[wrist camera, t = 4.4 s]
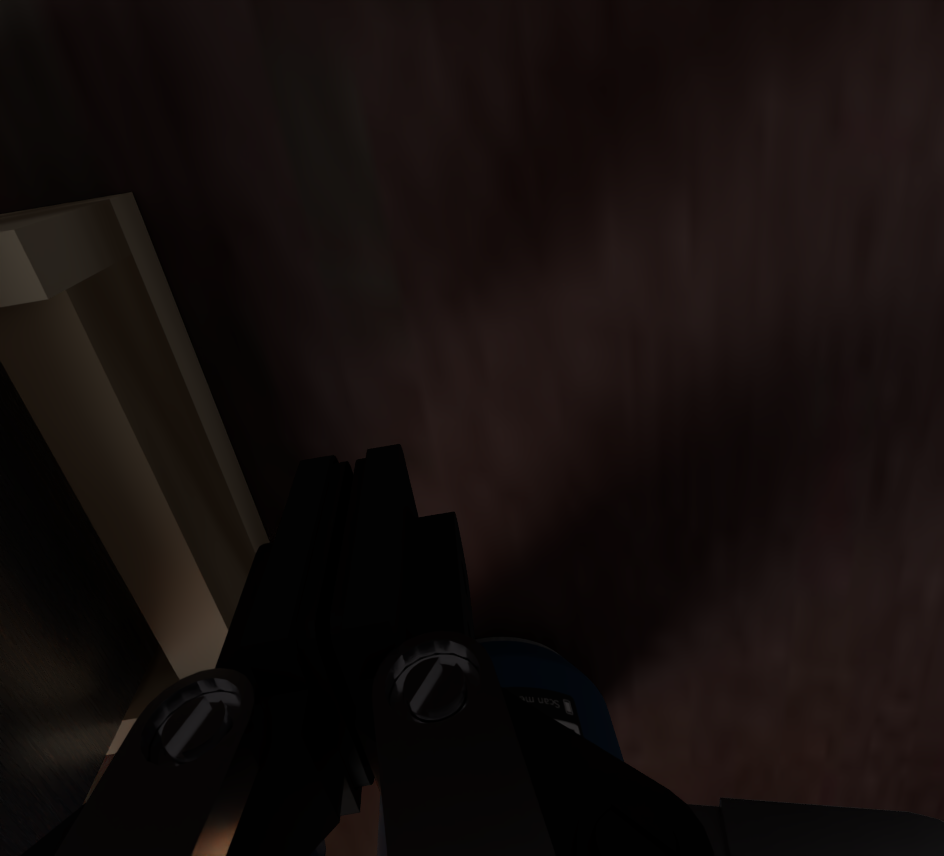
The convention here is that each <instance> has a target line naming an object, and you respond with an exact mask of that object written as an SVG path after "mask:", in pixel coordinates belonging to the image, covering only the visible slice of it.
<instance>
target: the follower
mask: <svg viewBox="0 0 944 856" xmlns="http://www.w3.org/2000/svg"><path fill="white" fill-rule="evenodd" d="M158 645H159V642H158V640H157V639H156V637H155V635H154V633H153V631H152V630H151V628H150V626H149V624H148V623H147V621H146V619H145V617H144V615H143V614H142V612H141V610H140V608H139V607H138V605H137V603H136V601H135V599H134V598H133V596H132V594H131V592H130V591H129V589H128V587H127V585H126V583H125V582H124V580H123V578H122V576H121V575H120V573H119V571H118V569H117V567H116V566H115V564H114V562H113V560H112V559H111V557H110V555H109V553H108V551H107V550H106V548H105V546H104V544H103V543H102V541H101V539H100V537H99V535H98V534H97V532H96V530H95V528H94V527H93V525H92V523H91V521H90V519H89V518H88V516H87V514H86V512H85V511H84V509H83V507H82V505H81V503H80V502H79V500H78V498H77V496H76V495H75V493H74V491H73V489H72V487H71V486H70V484H69V482H68V480H67V479H66V477H65V475H64V473H63V471H62V470H61V468H60V466H59V464H58V463H57V461H56V459H55V457H54V455H53V454H52V452H51V450H50V448H49V447H48V445H47V443H46V441H45V439H44V438H43V436H42V434H41V432H40V430H39V429H38V427H37V425H36V423H35V422H34V420H33V418H32V416H31V414H30V413H29V411H28V409H27V407H26V406H25V404H24V402H23V400H22V398H21V397H20V395H19V393H18V391H17V390H16V388H15V386H14V384H13V382H12V381H11V379H10V377H9V375H8V374H7V372H6V370H5V368H4V366H3V365H2V363H1V361H0V856H20V855H21V854H23V853H24V852H25V851H26V850H28V849H29V848H30V847H31V846H33V845H34V844H35V843H36V842H38V841H39V840H40V839H41V838H43V837H44V836H45V835H46V834H48V833H49V832H50V831H51V830H53V829H54V828H55V827H56V826H57V825H59V824H60V823H61V822H62V821H64V820H65V819H66V818H67V817H69V816H70V815H71V814H72V813H74V812H75V811H76V810H77V809H79V808H80V807H81V806H82V804H83V802H84V800H85V798H86V796H87V794H88V792H89V790H90V788H91V786H92V783H93V781H94V779H95V777H96V775H97V773H98V771H99V769H100V767H101V765H102V762H103V760H104V758H105V756H106V754H107V752H108V750H109V748H110V746H111V744H112V741H113V739H114V737H115V735H116V733H117V731H118V729H119V727H120V725H121V723H122V720H123V718H124V716H125V714H126V712H127V710H128V708H129V706H130V704H131V701H132V699H133V697H134V695H135V693H136V691H137V689H138V687H139V685H140V683H141V680H142V678H143V676H144V674H145V672H146V670H147V668H148V666H149V664H150V662H151V659H152V657H153V655H154V653H155V651H156V649H157V647H158Z"/></svg>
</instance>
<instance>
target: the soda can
mask: <svg viewBox="0 0 944 856" xmlns="http://www.w3.org/2000/svg"><path fill="white" fill-rule="evenodd" d="M475 640H476V641H477V642H478V643H479V644H481V645H482V646H483V647H484V648H485V649H486V651H487V653H488V655H489V657H490V658H491V660H492V662H493V665H494V668H495V672H496V675H497V678H498V681H499V684H500V686H501V687H502V688H504V689H506V690H507V691H509V692H510V693H512V694H514V695H515V696H517V697H519V698H520V699H522V700H524V701H525V702H527V703H528V704H530V705H532V706H533V707H535V708H537V709H538V710H540V711H541V712H543V713H545V714H546V715H548V716H550V717H551V718H553V719H555V720H556V721H558V722H559V723H561V724H563V725H564V726H566V727H568V728H569V729H571V730H572V731H574V732H576V733H577V734H579V735H581V736H582V737H584V738H586V739H587V740H589V741H590V742H592V743H594V744H595V745H597V746H599V747H600V748H602V749H603V750H605V751H607V752H608V753H610V754H612V755H613V756H615V757H617V758H618V759H620V760H621V761H623V762H624V760H623V757H622V754H621V750H620V747H619V744H618V741H617V738H616V734H615V731H614V728H613V725H612V721H611V718H610V715H609V712H608V709H607V706H606V703H605V701H604V698H603V696H602V695H601V693H600V692H599V690H598V689H597V688H596V686H595V685H594V684H593V683H592V682H591V681H590V680H589V679H588V678H587V676H585V675H584V674H583V673H582V672H581V671H580V670H578V669H577V668H576V667H575V666H574V665H572V664H571V663H570V662H568V661H567V660H566V659H565V658H563V657H562V656H561V655H559V654H558V653H557V652H555V651H554V650H552V649H550V648H549V647H547V646H545V645H542V644H540V643H537V642H534V641H531V640H527V639H522V638H515V637H488V638H481V639H475ZM377 856H387V846H386V836H385V826H384V816H383V806H382V796H381V794H380V809H379V829H378V848H377Z"/></svg>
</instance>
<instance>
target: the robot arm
mask: <svg viewBox="0 0 944 856" xmlns="http://www.w3.org/2000/svg"><path fill="white" fill-rule="evenodd" d="M374 778H375V780H376V783H377V786H378V788H379V791H380V794H381V796H382V806H383V816H384V826H385V836H386V846H387V856H944V822H943V821H941V820H939V819H936V818H932V817H928V816H924V815H920V814H916V813H911V812H904V811H890V810H877V809H864V808H851V807H838V806H825V805H812V804H799V803H786V802H773V801H760V800H746V799H733V798H720V805H719V807H717V806H705V805H692V804H686V803H685V802H684V801H682V800H681V799H680V798H679V797H677V796H676V795H675V794H674V793H672V792H671V791H670V790H669V789H667V788H665V787H664V786H662V785H661V784H659V783H657V782H656V781H654V780H652V779H651V778H649V777H648V776H646V775H644V774H643V773H641V772H639V771H638V770H636V769H634V768H633V767H631V766H630V765H628V764H626V763H625V762H623V761H621V760H620V759H618V758H617V757H615V756H613V755H612V754H610V753H608V752H607V751H605V750H603V749H602V748H600V747H599V746H597V745H595V744H594V743H592V742H590V741H589V740H587V739H586V738H584V737H582V736H581V735H579V734H577V733H576V732H574V731H572V730H571V729H569V728H568V727H566V726H564V725H563V724H561V723H559V722H558V721H556V720H555V719H553V718H551V717H550V716H548V715H546V714H545V713H543V712H541V711H540V710H538V709H537V708H535V707H533V706H532V705H530V704H528V703H527V702H525V701H524V700H522V699H520V698H519V697H517V696H515V695H514V694H512V693H510V692H509V691H507V690H506V689H504V688H502V687H501V686H500V684H499V681H498V678H497V675H496V672H495V668H494V665H493V662H492V660H491V658H490V657H489V655H488V653H487V651H486V649H485V648H484V647H483V646H482V645H481V644H479V643H478V642H477V641H476V640H475V637H474V628H473V619H472V609H471V600H470V591H469V584H468V577H467V571H466V564H465V558H464V553H463V547H462V542H461V537H460V532H459V527H458V522H457V518H456V514H455V512H449V513H443V514H437V515H431V516H425V517H419V518H418V513H417V509H416V505H415V501H414V496H413V492H412V488H411V484H410V479H409V475H408V471H407V467H406V462H405V458H404V454H403V450H402V447H401V445H400V444H397V445H391V446H385V447H379V448H373V449H368V450H367V453H366V458H364V459H358V460H356V463H355V469H354V475H353V472H352V469H351V466H350V464H349V462H348V461H346V462H340V463H339V462H338V460H337V458H336V456H334V455H331V456H325V457H319V458H313V459H307V460H302V461H300V463H299V466H298V469H297V472H296V475H295V478H294V481H293V484H292V487H291V490H290V493H289V497H288V500H287V503H286V506H285V509H284V512H283V515H282V518H281V521H280V524H279V527H278V530H277V533H276V537H275V540H274V542H270V543H265V544H262V545H261V546H259V548H258V550H257V552H256V554H255V557H254V560H253V563H252V565H251V568H250V571H249V574H248V577H247V579H246V582H245V585H244V588H243V591H242V593H241V596H240V599H239V602H238V605H237V607H236V610H235V613H234V616H233V619H232V621H231V624H230V627H229V630H228V633H227V636H226V638H225V641H224V644H223V647H222V650H221V652H220V655H219V658H218V661H217V664H216V666H215V669H209V670H203V671H199V672H197V673H194V674H192V675H189V676H187V677H184V678H182V679H181V680H179V681H177V682H176V683H174V684H173V685H171V686H169V687H168V688H166V689H165V690H163V691H162V692H161V693H160V694H159V695H158V696H157V697H156V698H155V699H153V700H152V701H151V702H150V703H149V704H148V705H147V706H146V708H145V709H144V710H143V712H142V713H141V714H140V716H139V717H138V718H137V720H136V721H135V722H134V724H133V726H132V727H131V729H130V731H129V732H128V734H127V736H126V737H125V739H124V741H123V742H122V744H121V746H120V747H119V749H118V751H117V752H116V754H115V756H114V757H113V759H112V761H111V762H110V764H109V766H108V767H107V769H106V770H105V772H104V774H103V775H102V777H101V779H100V780H99V782H98V784H97V785H96V787H95V789H94V790H93V792H92V794H91V795H90V797H89V799H88V800H87V802H86V803H85V804H84V805H82V806H81V807H80V808H79V809H77V810H76V811H75V812H74V813H72V814H71V815H70V816H69V817H67V818H66V819H65V820H64V821H62V822H61V823H60V824H59V825H57V826H56V827H55V828H54V829H53V830H51V831H50V832H49V833H48V834H46V835H45V836H44V837H43V838H41V839H40V840H39V841H38V842H36V843H35V844H34V845H33V846H31V847H30V848H29V849H28V850H26V851H25V852H24V853H23V854H21V855H20V856H325V852H326V846H325V840H324V839H325V838H326V837H327V835H328V834H329V833H330V832H331V831H332V830H333V829H334V828H335V827H336V826H337V824H338V823H339V822H340V816H342V815H348V814H354V813H360V804H361V792H362V786H367V785H372V784H373V782H374Z"/></svg>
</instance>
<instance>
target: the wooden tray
mask: <svg viewBox="0 0 944 856" xmlns="http://www.w3.org/2000/svg"><path fill="white" fill-rule="evenodd" d="M0 361H1V363H2V365H3V366H4V368H5V370H6V372H7V374H8V375H9V377H10V379H11V381H12V382H13V384H14V386H15V388H16V390H17V391H18V393H19V395H20V397H21V398H22V400H23V402H24V404H25V406H26V407H27V409H28V411H29V413H30V414H31V416H32V418H33V420H34V422H35V423H36V425H37V427H38V429H39V430H40V432H41V434H42V436H43V438H44V439H45V441H46V443H47V445H48V447H49V448H50V450H51V452H52V454H53V455H54V457H55V459H56V461H57V463H58V464H59V466H60V468H61V470H62V471H63V473H64V475H65V477H66V479H67V480H68V482H69V484H70V486H71V487H72V489H73V491H74V493H75V495H76V496H77V498H78V500H79V502H80V503H81V505H82V507H83V509H84V511H85V512H86V514H87V516H88V518H89V519H90V521H91V523H92V525H93V527H94V528H95V530H96V532H97V534H98V535H99V537H100V539H101V541H102V543H103V544H104V546H105V548H106V550H107V551H108V553H109V555H110V557H111V559H112V560H113V562H114V564H115V566H116V567H117V569H118V571H119V573H120V575H121V576H122V578H123V580H124V582H125V583H126V585H127V587H128V589H129V591H130V592H131V594H132V596H133V598H134V599H135V601H136V603H137V605H138V607H139V608H140V610H141V612H142V614H143V615H144V617H145V619H146V621H147V623H148V624H149V626H150V628H151V630H152V631H153V633H154V635H155V637H156V639H157V640H158V642H159V645H158V647H157V649H156V651H155V653H154V655H153V657H152V659H151V662H150V664H149V666H148V668H147V670H146V672H145V674H144V676H143V678H142V680H141V683H140V685H139V687H138V689H137V691H136V693H135V695H134V697H133V699H132V701H131V704H130V706H129V708H128V710H127V712H126V714H125V716H124V718H123V720H122V723H121V725H120V727H119V729H118V731H117V733H116V735H115V737H114V739H113V741H112V744H111V746H110V748H109V750H108V752H107V754H106V755H108V754H114V753H116V752H117V751H118V749H119V747H120V746H121V744H122V742H123V741H124V739H125V737H126V736H127V734H128V732H129V731H130V729H131V727H132V726H133V724H134V722H135V721H136V720H137V718H138V717H139V716H140V714H141V713H142V712H143V710H144V709H145V708H146V706H147V705H148V704H149V703H150V702H151V701H152V700H153V699H155V698H156V697H157V696H158V695H159V694H160V693H161V692H162V691H163V690H165V689H166V688H168V687H169V686H171V685H173V684H174V683H176V682H177V681H179V680H181V679H182V678H184V677H187V676H189V675H192V674H194V673H197V672H199V671H203V670H209V669H215V666H216V664H217V661H218V658H219V655H220V652H221V650H222V647H223V644H224V641H225V638H226V636H227V633H228V630H229V627H230V624H231V621H232V619H233V616H234V613H235V610H236V607H237V605H238V602H239V599H240V596H241V593H242V591H243V588H244V585H245V582H246V579H247V577H248V574H249V571H250V568H251V565H252V563H253V560H254V557H255V554H256V552H257V550H258V548H259V546H261V545H262V544H265V543H270V541H269V539H268V536H267V534H266V531H265V529H264V526H263V524H262V521H261V519H260V516H259V513H258V511H257V508H256V506H255V503H254V501H253V498H252V496H251V493H250V491H249V488H248V485H247V483H246V480H245V478H244V475H243V473H242V470H241V468H240V465H239V463H238V460H237V458H236V455H235V452H234V450H233V447H232V445H231V442H230V440H229V437H228V435H227V432H226V430H225V427H224V424H223V422H222V419H221V417H220V414H219V412H218V409H217V407H216V404H215V402H214V399H213V396H212V394H211V391H210V389H209V386H208V384H207V381H206V379H205V376H204V374H203V371H202V369H201V366H200V363H199V361H198V358H197V356H196V353H195V351H194V348H193V346H192V343H191V341H190V338H189V335H188V333H187V330H186V328H185V325H184V323H183V320H182V318H181V315H180V313H179V310H178V307H177V305H176V302H175V300H174V297H173V295H172V292H171V290H170V287H169V285H168V282H167V280H166V277H165V274H164V272H163V269H162V267H161V264H160V262H159V259H158V257H157V254H156V252H155V249H154V246H153V244H152V241H151V239H150V236H149V234H148V231H147V229H146V226H145V224H144V221H143V218H142V216H141V213H140V211H139V208H138V206H137V203H136V201H135V198H134V196H133V193H132V192H129V193H123V194H117V195H111V196H105V197H99V198H94V199H88V200H82V201H76V202H70V203H64V204H58V205H52V206H46V207H40V208H35V209H29V210H23V211H17V212H11V213H5V214H0Z"/></svg>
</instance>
